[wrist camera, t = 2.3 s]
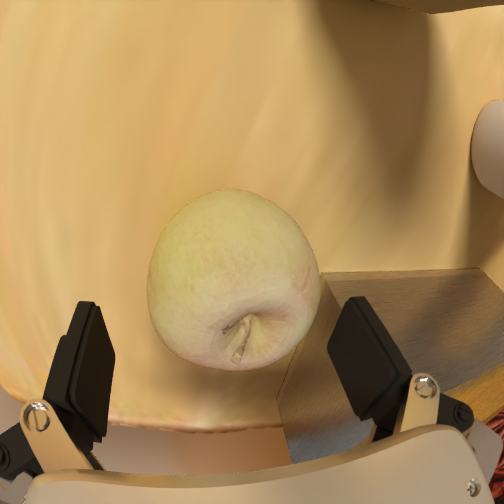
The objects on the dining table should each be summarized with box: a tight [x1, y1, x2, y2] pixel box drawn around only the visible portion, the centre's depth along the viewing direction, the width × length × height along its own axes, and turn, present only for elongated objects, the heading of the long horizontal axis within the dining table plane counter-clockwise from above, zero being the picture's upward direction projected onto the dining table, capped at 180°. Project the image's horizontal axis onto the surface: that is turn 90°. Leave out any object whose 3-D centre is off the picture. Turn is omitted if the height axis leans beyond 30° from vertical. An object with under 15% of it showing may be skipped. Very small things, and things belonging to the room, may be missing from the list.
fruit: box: [147, 189, 321, 371], centre depth 12 cm, size 8×7×8 cm
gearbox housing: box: [276, 268, 504, 464], centre depth 18 cm, size 18×16×12 cm
